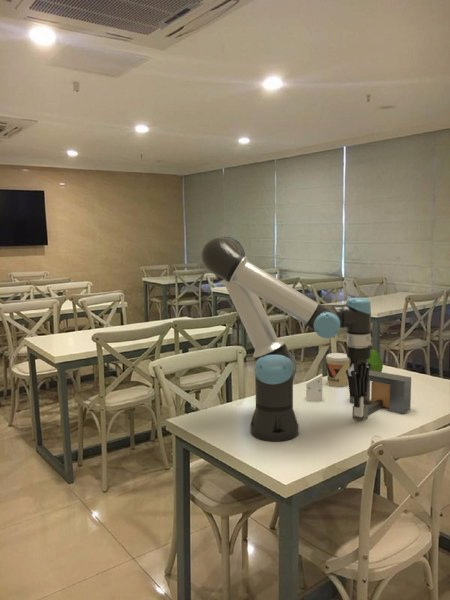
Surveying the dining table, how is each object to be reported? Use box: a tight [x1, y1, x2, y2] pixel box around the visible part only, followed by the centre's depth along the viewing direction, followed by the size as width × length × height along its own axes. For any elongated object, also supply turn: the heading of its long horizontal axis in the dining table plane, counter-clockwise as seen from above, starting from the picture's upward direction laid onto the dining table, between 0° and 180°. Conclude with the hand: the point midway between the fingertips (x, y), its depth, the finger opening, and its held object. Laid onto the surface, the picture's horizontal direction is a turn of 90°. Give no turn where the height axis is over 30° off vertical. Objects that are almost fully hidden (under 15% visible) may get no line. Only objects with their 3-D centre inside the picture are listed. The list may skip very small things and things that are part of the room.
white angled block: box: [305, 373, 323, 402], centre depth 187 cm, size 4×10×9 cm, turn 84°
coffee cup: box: [325, 352, 351, 388], centre depth 205 cm, size 9×9×12 cm
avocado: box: [367, 349, 384, 372], centre depth 214 cm, size 8×8×12 cm
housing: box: [349, 370, 412, 415], centre depth 179 cm, size 6×20×12 cm, turn 49°
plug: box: [351, 381, 390, 422], centre depth 175 cm, size 22×7×8 cm, turn 138°
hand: (358, 415), depth 166 cm, fingers closed
